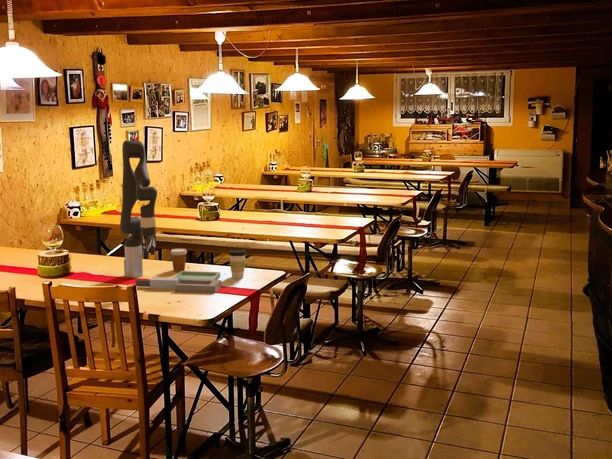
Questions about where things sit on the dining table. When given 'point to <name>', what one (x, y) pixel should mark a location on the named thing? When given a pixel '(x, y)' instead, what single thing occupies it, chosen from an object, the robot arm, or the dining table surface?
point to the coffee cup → (237, 262)
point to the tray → (197, 275)
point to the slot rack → (198, 285)
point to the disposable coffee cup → (178, 259)
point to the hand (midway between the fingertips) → (149, 256)
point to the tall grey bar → (158, 283)
